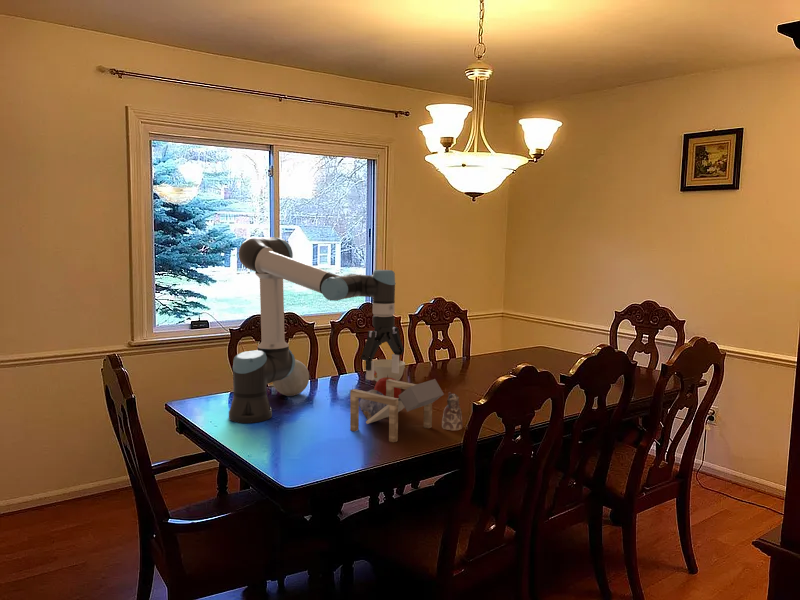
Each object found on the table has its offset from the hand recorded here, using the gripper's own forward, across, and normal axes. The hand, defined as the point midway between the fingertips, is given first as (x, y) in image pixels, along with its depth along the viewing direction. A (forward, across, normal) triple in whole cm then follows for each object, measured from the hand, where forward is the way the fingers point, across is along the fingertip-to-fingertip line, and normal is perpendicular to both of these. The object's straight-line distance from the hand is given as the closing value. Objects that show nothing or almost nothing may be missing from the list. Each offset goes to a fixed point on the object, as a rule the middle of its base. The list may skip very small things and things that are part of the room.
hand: (382, 376), depth 214 cm
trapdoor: (+11, 0, -12) cm, 16 cm away
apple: (+18, +16, +11) cm, 26 cm away
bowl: (+18, +46, +36) cm, 61 cm away
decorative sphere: (+18, +7, +55) cm, 58 cm away
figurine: (+18, +15, -19) cm, 30 cm away
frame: (+18, 0, -4) cm, 18 cm away
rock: (+11, +1, +2) cm, 11 cm away
